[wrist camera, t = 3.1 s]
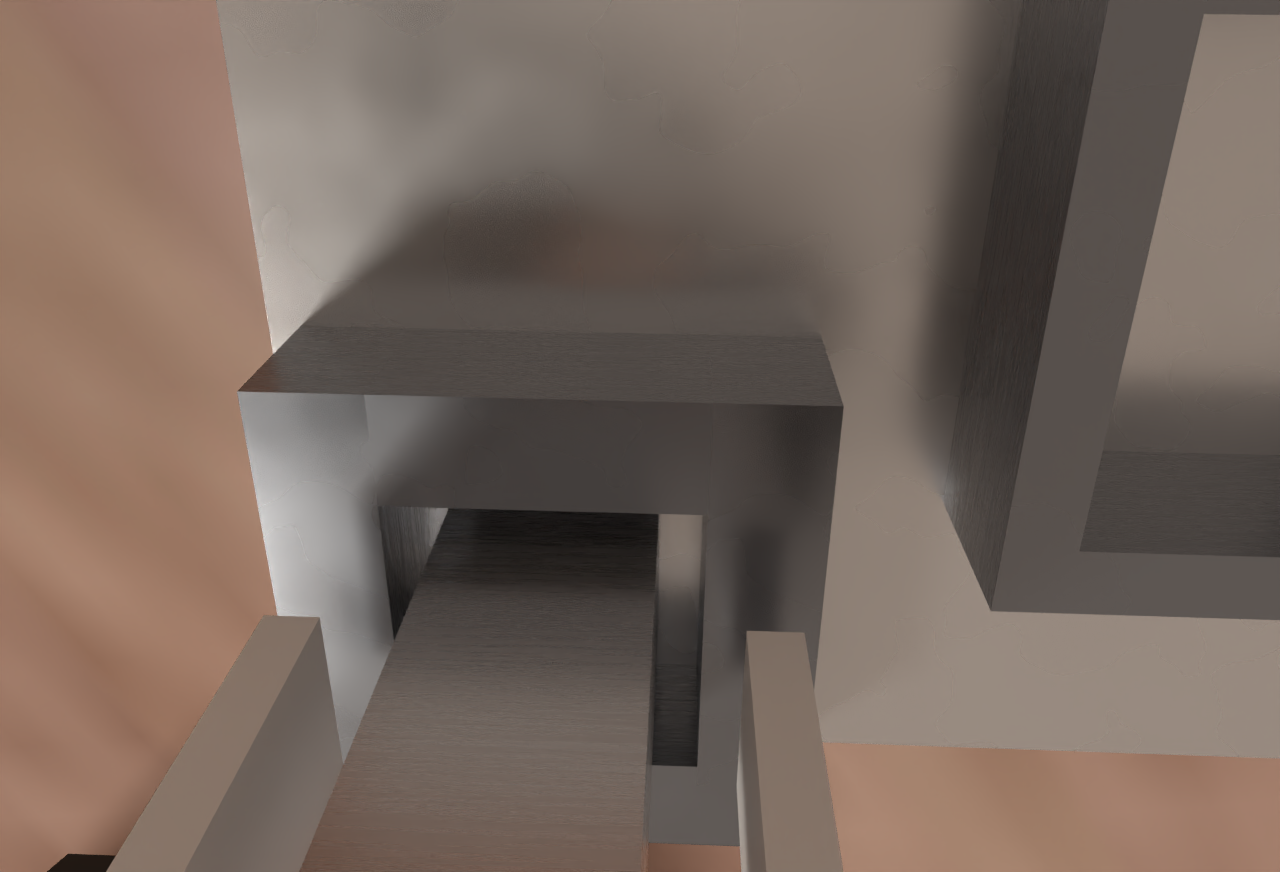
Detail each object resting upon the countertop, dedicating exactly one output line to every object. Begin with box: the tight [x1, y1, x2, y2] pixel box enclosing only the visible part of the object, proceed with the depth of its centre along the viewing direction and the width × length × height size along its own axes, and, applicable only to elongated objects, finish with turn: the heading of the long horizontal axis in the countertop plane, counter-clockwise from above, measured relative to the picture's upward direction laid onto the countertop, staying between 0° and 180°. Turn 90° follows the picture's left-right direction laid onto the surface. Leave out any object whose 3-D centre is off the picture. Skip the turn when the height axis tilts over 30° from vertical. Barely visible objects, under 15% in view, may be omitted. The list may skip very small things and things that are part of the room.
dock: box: [216, 0, 1280, 846], centre depth 15 cm, size 20×14×4 cm
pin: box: [299, 508, 660, 872], centre depth 12 cm, size 4×4×12 cm
